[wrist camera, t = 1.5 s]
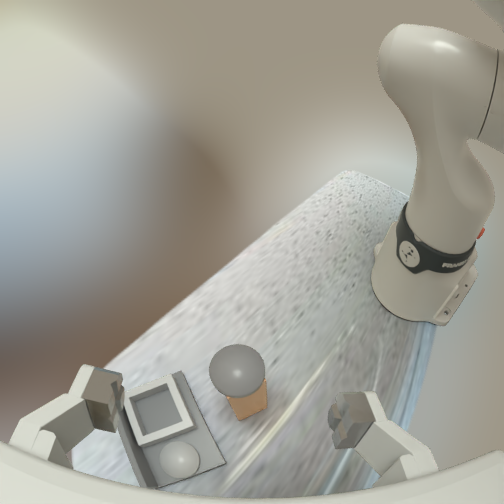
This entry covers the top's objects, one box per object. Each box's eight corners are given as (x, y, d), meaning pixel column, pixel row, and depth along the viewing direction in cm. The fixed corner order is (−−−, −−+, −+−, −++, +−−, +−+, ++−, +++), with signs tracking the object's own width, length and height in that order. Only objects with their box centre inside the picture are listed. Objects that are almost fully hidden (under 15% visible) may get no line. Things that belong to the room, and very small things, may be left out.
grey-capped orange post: (254, 377, 40) (249, 336, 30) (273, 409, 37) (275, 379, 27) (219, 393, 39) (200, 358, 29) (236, 426, 36) (223, 404, 26)
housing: (182, 373, 41) (173, 359, 37) (226, 463, 33) (220, 461, 29) (120, 397, 38) (104, 386, 34) (155, 488, 30) (141, 488, 26)
